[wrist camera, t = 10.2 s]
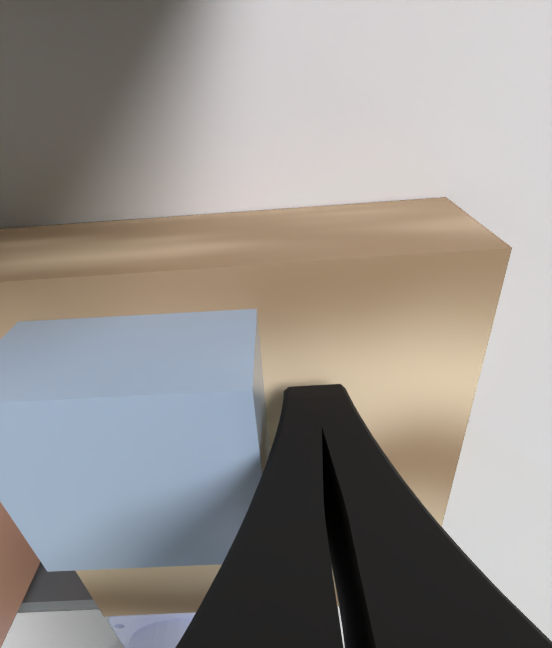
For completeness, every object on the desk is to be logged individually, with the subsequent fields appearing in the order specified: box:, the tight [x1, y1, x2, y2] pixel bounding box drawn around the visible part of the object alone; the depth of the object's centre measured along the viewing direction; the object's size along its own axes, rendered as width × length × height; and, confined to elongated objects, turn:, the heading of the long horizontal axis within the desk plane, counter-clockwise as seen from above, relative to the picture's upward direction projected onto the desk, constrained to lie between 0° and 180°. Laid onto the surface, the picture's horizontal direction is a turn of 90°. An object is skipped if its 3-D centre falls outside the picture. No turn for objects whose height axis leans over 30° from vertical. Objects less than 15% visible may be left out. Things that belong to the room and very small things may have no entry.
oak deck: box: [0, 197, 512, 616], centre depth 13 cm, size 14×12×4 cm
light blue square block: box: [0, 309, 270, 572], centre depth 9 cm, size 5×5×2 cm
